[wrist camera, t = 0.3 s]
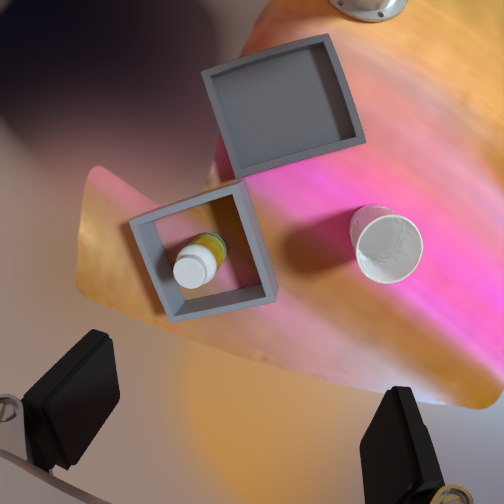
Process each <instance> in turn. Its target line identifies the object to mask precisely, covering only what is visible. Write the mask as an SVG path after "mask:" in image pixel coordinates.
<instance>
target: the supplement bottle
mask: <svg viewBox="0 0 504 504" xmlns="http://www.w3.org/2000/svg"><path fill="white" fill-rule="evenodd" d="M226 254H227V249H226V245H225V243H224V241H223V239H222V238H221V237H220V236H218V235H217V234H214V233H210V232H205V233H201V234H199V235H198V236H196V237H195V238H194V239H193V240H192V241H191V242H190V243H188V244H187V245H186V246H185V247H184V248H183V249H182V250H181V251H180V252H179V254H178V255H177V258H176V263H175V265H174V268H173V274H174V277H175V279H176V281H177V282H178V283H179V284H180V285H181V286H183V287H185V288H188V289H194V288H197V287H199V286H200V285H203V284H206V283H208V282H209V281H210V280H211V279H212V278H213V277H214V275H215V274H216V272H217V271H218V269H219V268H220V266H221V265H222V263H223V262H224V260H225V258H226Z"/></svg>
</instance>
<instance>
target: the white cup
mask: <svg viewBox="0 0 504 504" xmlns="http://www.w3.org/2000/svg"><path fill="white" fill-rule="evenodd" d="M349 234H350V238H351V243H352V247H353V250H354V253H355V256H356V260H357V263H358V266H359V268H360V269H361V271H362V272H363V273H364V274H365V275H366V276H367V277H368V278H369V279H371V280H373V281H375V282H378V283H384V284H389V283H395V282H398V281H401V280H403V279H404V278H406V277H407V276H409V275H410V274H411V273H412V272H413V271H414V270H415V268H416V267H417V265H418V263H419V261H420V259H421V256H422V250H423V243H422V238H421V234H420V232H419V230H418V229H417V227H416V226H415V225H414V224H413V223H412V222H411V221H410V220H408V219H407V218H405V217H403V216H401V215H400V214H398V213H396V212H395V211H392V210H390V209H388V208H386V207H383V206H380V205H377V204H371V205H364V206H363V207H361V208H360V209H359V210H357V211H356V212H355V213H354V215H353V217H352V218H351V220H350V226H349Z"/></svg>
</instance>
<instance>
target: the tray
mask: <svg viewBox="0 0 504 504" xmlns="http://www.w3.org/2000/svg"><path fill="white" fill-rule="evenodd" d="M201 75H202V78H203V81H204V84H205V87H206V90H207V93H208V96H209V99H210V102H211V105H212V108H213V111H214V114H215V117H216V120H217V123H218V126H219V129H220V132H221V135H222V138H223V141H224V144H225V147H226V151H227V154H228V157H229V160H230V163H231V166H232V169H233V172H234V175H235V178H236V179H238V178H241V177H244V176H248V175H251V174H254V173H257V172H261V171H264V170H267V169H271V168H274V167H277V166H281V165H284V164H288V163H291V162H295V161H299V160H302V159H306V158H309V157H313V156H317V155H321V154H324V153H328V152H332V151H336V150H340V149H344V148H348V147H352V146H356V145H360V144H364V143H366V139H365V136H364V133H363V129H362V126H361V123H360V119H359V116H358V113H357V110H356V107H355V104H354V101H353V98H352V95H351V92H350V89H349V86H348V83H347V80H346V78H345V75H344V72H343V69H342V67H341V64H340V61H339V59H338V56H337V54H336V51H335V48H334V46H333V43H332V41H331V39H330V36H329V34H328V33H327V34H323V35H318V36H314V37H309V38H305V39H301V40H297V41H293V42H290V43H286V44H282V45H279V46H275V47H272V48H268V49H265V50H262V51H259V52H255V53H252V54H249V55H246V56H243V57H240V58H237V59H235V60H232V61H229V62H226V63H223V64H220V65H218V66H215V67H212V68H210V69H207V70H205V71H202V72H201Z"/></svg>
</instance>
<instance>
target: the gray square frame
mask: <svg viewBox="0 0 504 504" xmlns="http://www.w3.org/2000/svg"><path fill="white" fill-rule="evenodd" d="M231 194H232V195H233V198H234V201H235V204H236V207H237V210H238V213H239V216H240V219H241V222H242V225H243V228H244V231H245V234H246V237H247V240H248V243H249V246H250V249H251V252H252V255H253V258H254V261H255V264H256V267H257V270H258V273H259V276H260V279H261V282H262V284H258V285H254V286H250V287H246V288H241V289H237V290H232V291H228V292H224V293H219V294H215V295H210V296H206V297H201V298H197V299H192V300H188V301H185V300H184V298H183V295H182V293H181V291H180V288H179V286H178V283H177V281H176V279H175V277H174V274H173V271H172V268H171V266H170V263H169V261H168V258H167V256H166V253H165V251H164V248H163V245H162V243H161V240H160V237H159V235H158V232H157V229H156V227H155V224H154V221H153V220H155V219H158V218H160V217H163V216H166V215H169V214H172V213H175V212H178V211H181V210H184V209H187V208H190V207H193V206H196V205H199V204H202V203H205V202H208V201H212V200H215V199H218V198H221V197H224V196H227V195H231ZM129 224H130V226H131V229H132V232H133V234H134V237H135V240H136V242H137V245H138V247H139V250H140V253H141V255H142V258H143V260H144V263H145V265H146V268H147V270H148V272H149V275H150V277H151V280H152V282H153V284H154V287H155V289H156V291H157V294H158V296H159V298H160V301H161V303H162V305H163V307H164V310H165V312H166V314H167V316H168V319H169V321H170V323H175V322H180V321H186V320H191V319H196V318H201V317H206V316H211V315H216V314H221V313H226V312H231V311H236V310H241V309H246V308H250V307H255V306H260V305H264V304H269V303H273V302H276V298H277V292H278V287H279V286H278V283H277V280H276V276H275V273H274V270H273V267H272V264H271V260H270V257H269V254H268V251H267V248H266V245H265V241H264V238H263V235H262V232H261V229H260V226H259V223H258V219H257V216H256V213H255V210H254V207H253V204H252V201H251V198H250V195H249V191H248V188H247V185H246V182H245V179H244V180H241V181H238V182H235V183H232V184H229V185H225V186H222V187H219V188H216V189H213V190H210V191H207V192H204V193H201V194H198V195H195V196H192V197H189V198H186V199H183V200H181V201H178V202H175V203H172V204H169V205H167V206H163V207H160V208H158V209H155V210H152V211H149V212H147V213H144V214H142V215H140V216H138V217H136V218H134V219H132V220H130V221H129Z"/></svg>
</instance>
